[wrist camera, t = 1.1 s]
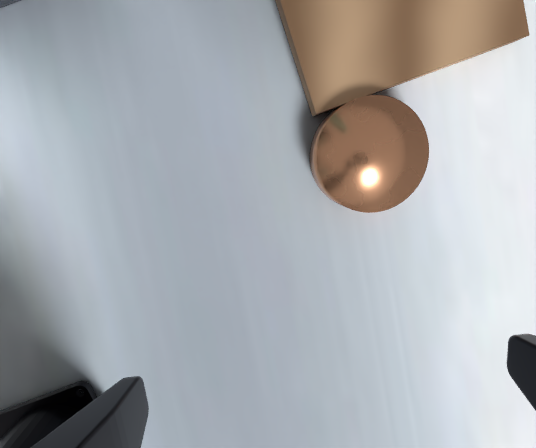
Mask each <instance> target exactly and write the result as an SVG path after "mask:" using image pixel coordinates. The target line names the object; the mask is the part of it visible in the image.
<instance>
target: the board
mask: <svg viewBox="0 0 536 448" xmlns="http://www.w3.org/2000/svg"><path fill="white" fill-rule="evenodd" d="M275 1H276V4H277V7H278V11H279V14H280V17H281V20H282V23H283V26H284V29H285V32H286V36H287V39H288V42H289V45H290V48H291V51H292V54H293V57H294V61H295V64H296V67H297V70H298V73H299V76H300V79H301V82H302V86H303V89H304V92H305V95H306V98H307V101H308V104H309V107H310V110H311V114H312V117H313V116H315V115H318V114H321V113H323V112H326V111H329V110H331V109H334V108H337V107H340V106H342V105H344V104H346V103H348V102H350V101H352V100H354V99H356V98H360V97H363V96H369V95H372V94H375V93H377V92H380V91H383V90H385V89H388V88H391V87H394V86H396V85H399V84H402V83H404V82H407V81H410V80H412V79H415V78H418V77H421V76H423V75H426V74H429V73H431V72H434V71H437V70H439V69H442V68H445V67H448V66H450V65H453V64H456V63H458V62H461V61H464V60H466V59H469V58H472V57H475V56H477V55H480V54H483V53H485V52H488V51H491V50H493V49H496V48H499V47H502V46H504V45H507V44H510V43H512V42H515V41H517V40H520V39H522V38H524V37H526V36H529V30H528V24H527V19H526V13H525V8H524V2H523V0H275Z"/></svg>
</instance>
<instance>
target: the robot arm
mask: <svg viewBox="0 0 536 448" xmlns="http://www.w3.org/2000/svg"><path fill="white" fill-rule="evenodd" d="M507 369H508V372H509V374H510V376H511V377H512V379H513V380H514V382H515V383H516V384H517V386H518V387H519V388H520V390H521V391H522V393H523V394H524V395H525V397H526V398H527V399H528V401H529V402H530V404H531V405H532V406H533V408H534V409H535V410H536V336H535V335H532V334H520V335H513V336H511V337H510V338H509V341H508V354H507ZM79 389H81V390H83V391H84V392H80V391H79ZM148 409H149V408H148V401H147V397H146V392H145V387H144V382H143V380H142V378H141V377H139V376H136V377H127V378H123V379H121V380H120V381H119V382H117V383H116V384H115V385H113V386H112V387H111V388H109V389H108V390H107V391H105V392H104V393H103V394H101V395H100V396H99V397H97V396H96V394H95V393H94V391H93V389H92V387H91V385H90V384H89V383H87V382H85V381H80V382H77V383H74V384H72V385H69V386H66V387H64V388H61V389H58V390H56V391H53V392H50V393H48V394H45V395H42V396H40V397H37V398H34V399H32V400H29V401H26V402H24V403H21V404H18V405H16V406H13V407H11V408H8V409H5V410H3V411H0V448H141V444H142V439H143V435H144V431H145V426H146V422H147V418H148Z"/></svg>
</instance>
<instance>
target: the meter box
mask: <svg viewBox="0 0 536 448" xmlns="http://www.w3.org/2000/svg"><path fill="white" fill-rule="evenodd" d="M18 1H20V0H0V8H1V7H4V6H7V5H9V4H12V3H15V2H18Z"/></svg>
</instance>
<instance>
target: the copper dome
mask: <svg viewBox="0 0 536 448" xmlns="http://www.w3.org/2000/svg"><path fill="white" fill-rule="evenodd" d="M428 158H429V143H428V138H427V134H426V131H425V128H424V126H423V124H422V122H421V120H420V119H419V117H418V116H417V114H416V113H415V112H414V111H413V110H412V109H411V108H410V107H409V106H407V105H406V104H404V103H403V102H401V101H399V100H397V99H395V98H392V97H388V96H383V95H369V96H363V97H360V98H356V99H354V100H352V101H350V102H348V103H346V104H344V105H343V106H341V107H339V108H337V109H336V110H334V111H333V112H332V113H330V114H329V115H328V116H327V117H326V118H325V119H324V120H323V121H322V123H321V124H320V126H319V127H318V129H317V131H316V132H315V135H314V137H313V140H312V144H311V149H310V166H311V171H312V174H313V177H314V179H315V181H316V183H317V185H318V187H319V188H320V189H321V191H322V192H323V193H324V194H325V195H326V196H327V197H328V198H330V199H331V200H333V201H334V202H336V203H338V204H340V205H343V206H345V207H347V208H350V209H352V210H355V211H360V212H368V213H369V212H380V211H384V210H387V209H390V208H392V207H395V206H397V205H398V204H400V203H401V202H403V201H404V200H405V199H407V198H408V197H409V196H410V195H411V194H412V193H413V192H414V190H415V189H416V188H417V187H418V185H419V183H420V182H421V180H422V178H423V176H424V173H425V171H426V167H427V163H428Z"/></svg>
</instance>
